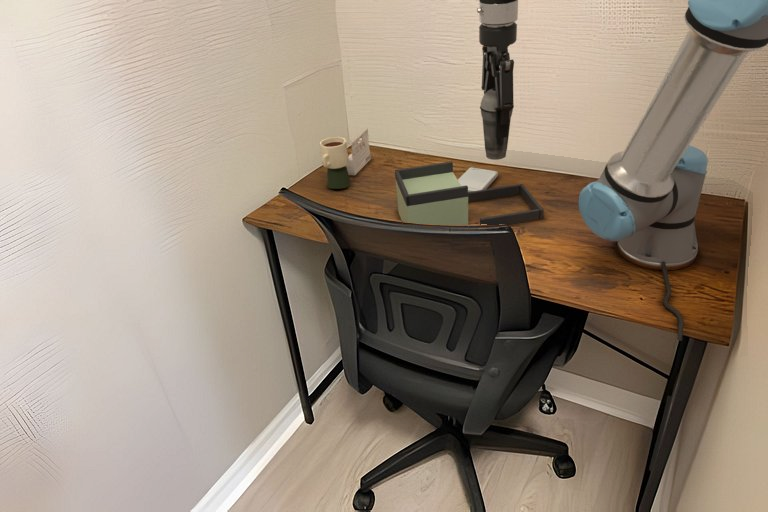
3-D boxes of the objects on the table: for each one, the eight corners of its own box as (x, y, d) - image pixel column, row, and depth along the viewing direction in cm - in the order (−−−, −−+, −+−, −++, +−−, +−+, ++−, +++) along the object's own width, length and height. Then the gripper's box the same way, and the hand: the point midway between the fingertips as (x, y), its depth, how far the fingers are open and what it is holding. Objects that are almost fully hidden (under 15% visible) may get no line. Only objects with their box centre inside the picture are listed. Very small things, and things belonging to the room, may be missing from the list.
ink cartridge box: (347, 175, 167) (343, 143, 162) (364, 159, 175) (360, 127, 170) (355, 176, 166) (351, 143, 161) (371, 159, 174) (368, 128, 169)
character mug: (338, 176, 167) (332, 132, 160) (360, 179, 164) (354, 135, 157) (317, 193, 159) (310, 148, 152) (340, 197, 156) (333, 151, 149)
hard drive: (469, 166, 161) (450, 186, 152) (498, 171, 157) (479, 191, 149) (469, 172, 162) (450, 192, 153) (498, 177, 158) (479, 197, 150)
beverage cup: (479, 162, 133) (480, 73, 122) (479, 149, 139) (479, 63, 128) (513, 162, 132) (516, 72, 121) (511, 148, 138) (514, 61, 127)
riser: (543, 219, 138) (546, 174, 132) (409, 240, 136) (405, 196, 129) (522, 192, 150) (524, 150, 144) (398, 211, 147) (394, 169, 141)
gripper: (466, 15, 127) (467, 117, 140) (495, 36, 111) (493, 150, 123) (500, 11, 128) (498, 112, 140) (534, 31, 111) (528, 145, 124)
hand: (496, 130), depth 132 cm, fingers closed on beverage cup, 7 cm apart
